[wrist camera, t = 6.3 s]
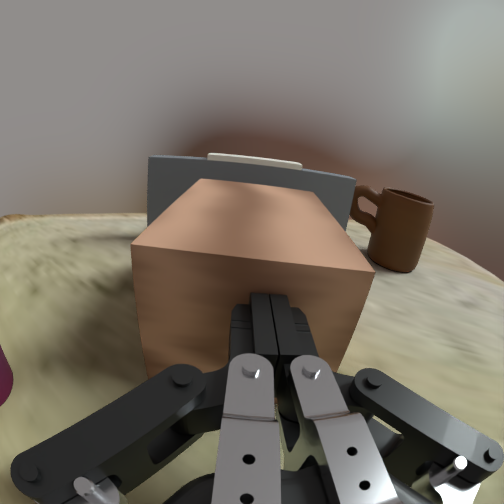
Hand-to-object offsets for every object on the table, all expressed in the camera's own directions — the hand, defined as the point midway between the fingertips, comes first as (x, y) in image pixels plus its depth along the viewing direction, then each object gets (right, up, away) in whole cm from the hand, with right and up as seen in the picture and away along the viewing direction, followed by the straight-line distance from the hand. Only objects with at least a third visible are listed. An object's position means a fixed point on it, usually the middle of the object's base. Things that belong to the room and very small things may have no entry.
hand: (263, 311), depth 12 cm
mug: (+16, +2, +25) cm, 30 cm away
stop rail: (-1, +4, +25) cm, 25 cm away
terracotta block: (-1, -3, +10) cm, 10 cm away
